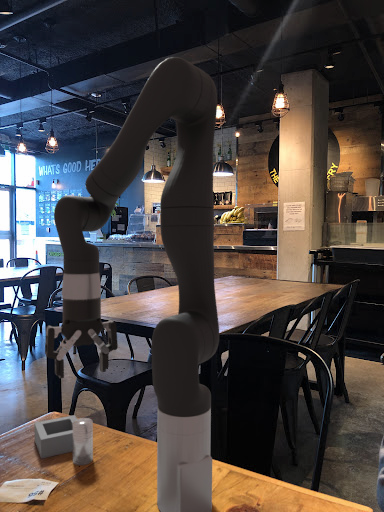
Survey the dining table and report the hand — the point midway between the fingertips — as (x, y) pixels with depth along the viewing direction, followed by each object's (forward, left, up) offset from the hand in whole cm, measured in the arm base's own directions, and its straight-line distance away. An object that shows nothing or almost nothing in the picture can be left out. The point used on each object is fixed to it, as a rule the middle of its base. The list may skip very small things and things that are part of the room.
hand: (82, 374), depth 87 cm
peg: (0, 0, -18) cm, 18 cm away
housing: (+9, +3, -18) cm, 20 cm away
